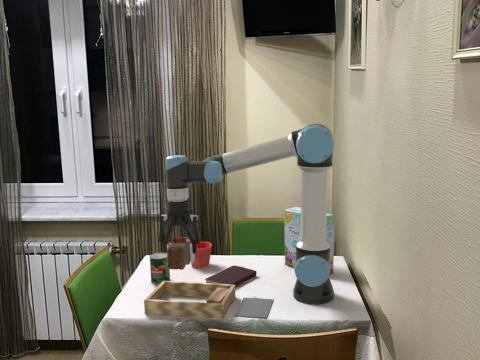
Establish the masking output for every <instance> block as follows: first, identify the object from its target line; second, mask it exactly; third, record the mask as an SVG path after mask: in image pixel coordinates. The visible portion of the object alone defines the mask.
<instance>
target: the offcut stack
mask: <svg viewBox="0 0 480 360" xmlns="http://www.w3.org/2000/svg"><path fill="white" fill-rule="evenodd" d="M228 290H229V289H227V288H217V289H216V290H215V291H214V292H213V294H212V295H211V296H210V297H207V299H206V303H218V304H221V302H222V300H223V299H224V297H225V295H226V294H227V292H228Z"/></svg>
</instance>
